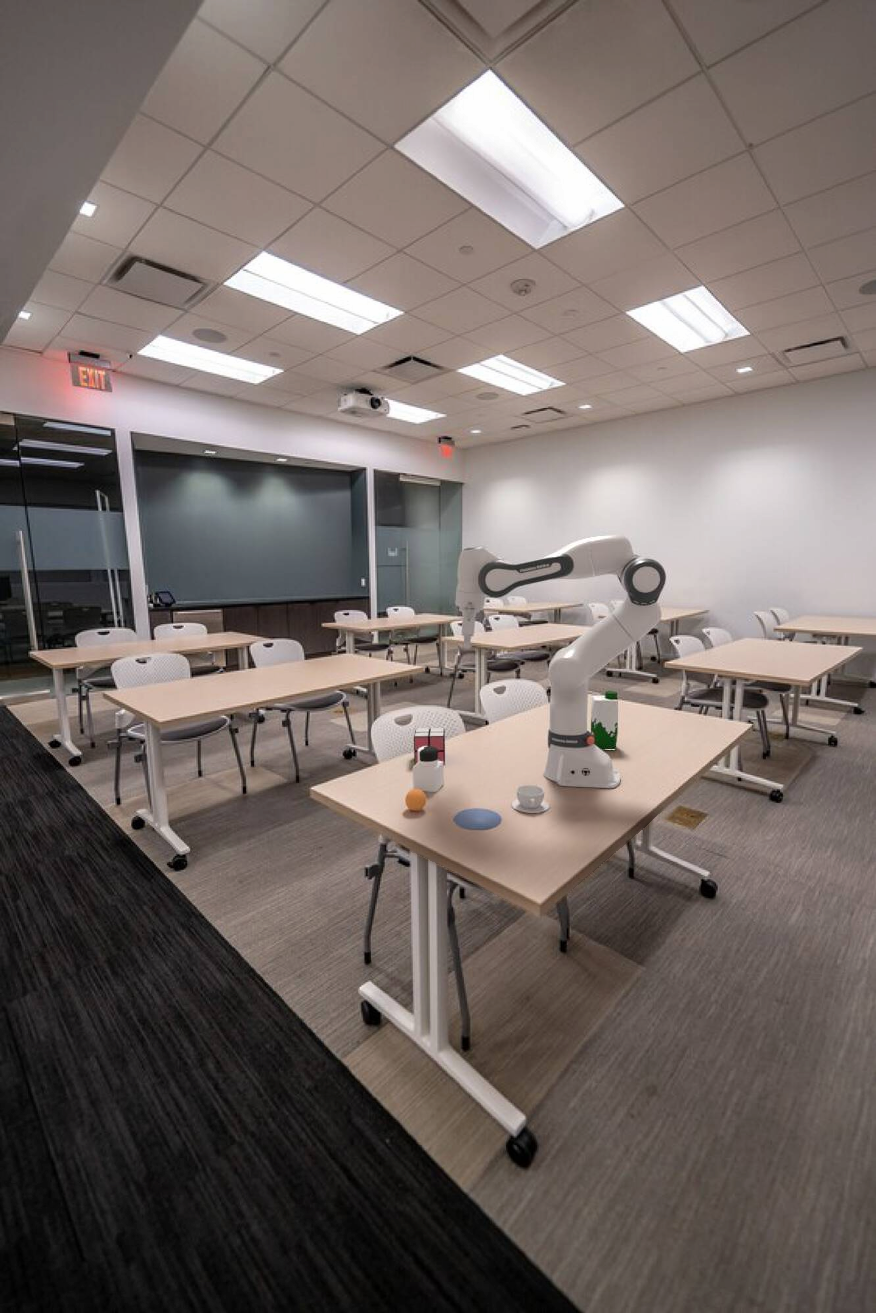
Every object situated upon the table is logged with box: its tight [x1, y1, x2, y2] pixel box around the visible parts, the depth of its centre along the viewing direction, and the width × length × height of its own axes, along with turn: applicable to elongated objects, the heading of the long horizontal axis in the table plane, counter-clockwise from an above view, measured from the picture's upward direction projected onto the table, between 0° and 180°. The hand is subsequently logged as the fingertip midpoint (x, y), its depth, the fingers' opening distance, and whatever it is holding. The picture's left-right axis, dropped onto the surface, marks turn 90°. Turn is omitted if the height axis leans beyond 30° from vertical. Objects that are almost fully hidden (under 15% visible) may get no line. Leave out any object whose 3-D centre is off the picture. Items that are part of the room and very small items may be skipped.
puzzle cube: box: [413, 727, 446, 766], centre depth 183 cm, size 10×10×10 cm
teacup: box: [511, 784, 550, 814], centre depth 145 cm, size 10×10×5 cm
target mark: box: [453, 808, 502, 831], centre depth 138 cm, size 12×12×1 cm
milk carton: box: [590, 690, 619, 749], centre depth 192 cm, size 9×9×20 cm
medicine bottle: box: [412, 746, 445, 793], centre depth 159 cm, size 7×7×12 cm
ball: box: [405, 789, 427, 812], centre depth 144 cm, size 6×6×6 cm
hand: (466, 644), depth 169 cm, fingers open, 8 cm apart
